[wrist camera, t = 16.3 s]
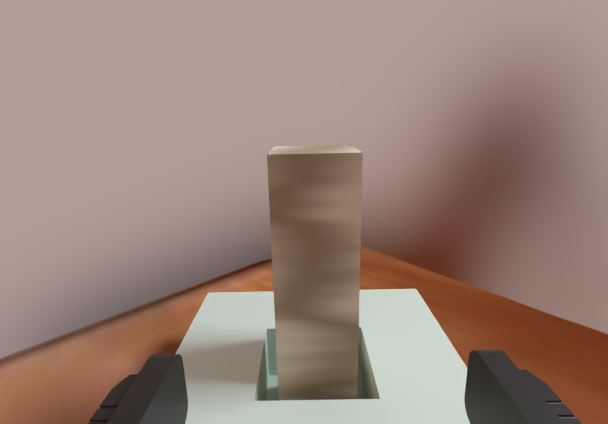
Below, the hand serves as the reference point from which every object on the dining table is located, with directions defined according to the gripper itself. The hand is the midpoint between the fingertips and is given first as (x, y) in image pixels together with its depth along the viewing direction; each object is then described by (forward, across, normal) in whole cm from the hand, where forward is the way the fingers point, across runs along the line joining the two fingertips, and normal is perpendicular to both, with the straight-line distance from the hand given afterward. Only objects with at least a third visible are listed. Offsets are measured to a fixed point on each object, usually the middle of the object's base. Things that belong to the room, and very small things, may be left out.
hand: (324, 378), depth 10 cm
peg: (+9, 0, +9) cm, 13 cm away
